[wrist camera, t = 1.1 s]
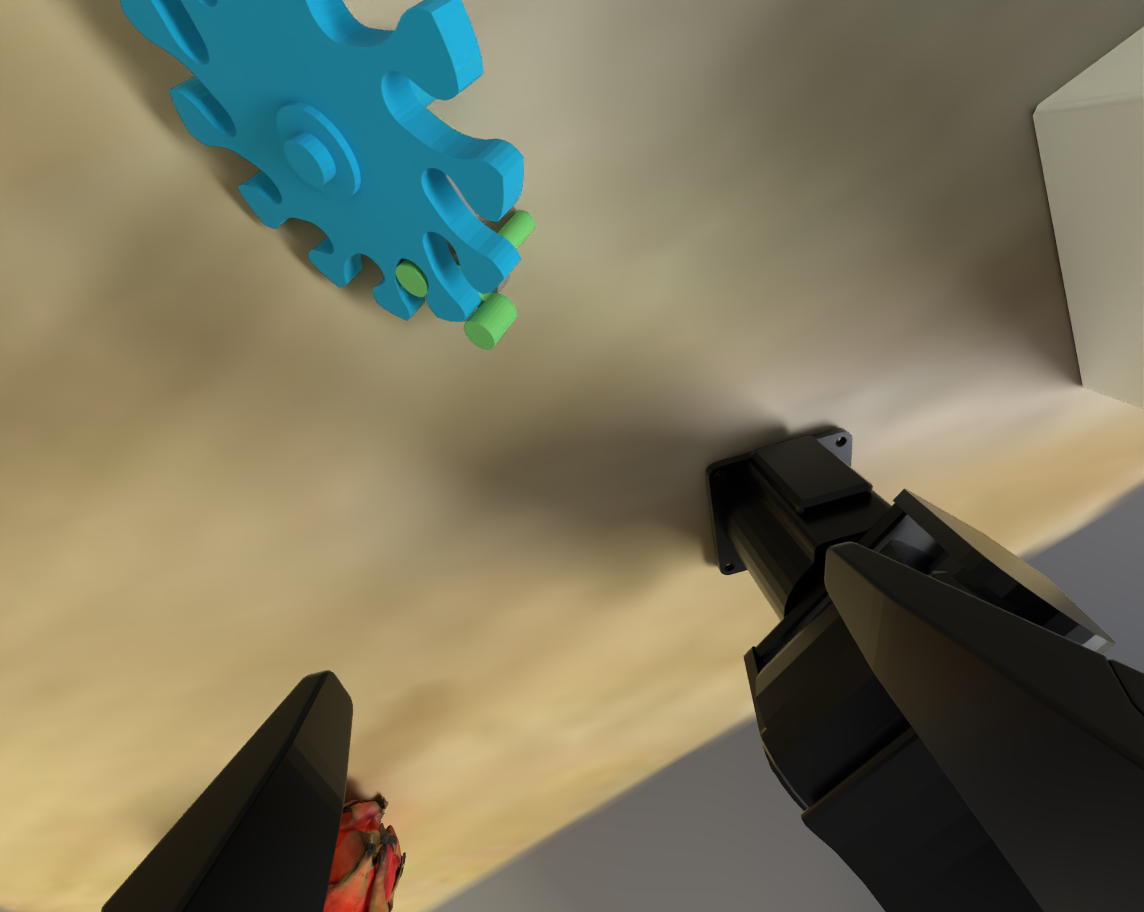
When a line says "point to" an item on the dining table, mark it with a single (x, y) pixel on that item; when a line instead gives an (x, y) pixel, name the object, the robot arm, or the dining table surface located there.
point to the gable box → (1101, 213)
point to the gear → (356, 142)
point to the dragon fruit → (364, 861)
